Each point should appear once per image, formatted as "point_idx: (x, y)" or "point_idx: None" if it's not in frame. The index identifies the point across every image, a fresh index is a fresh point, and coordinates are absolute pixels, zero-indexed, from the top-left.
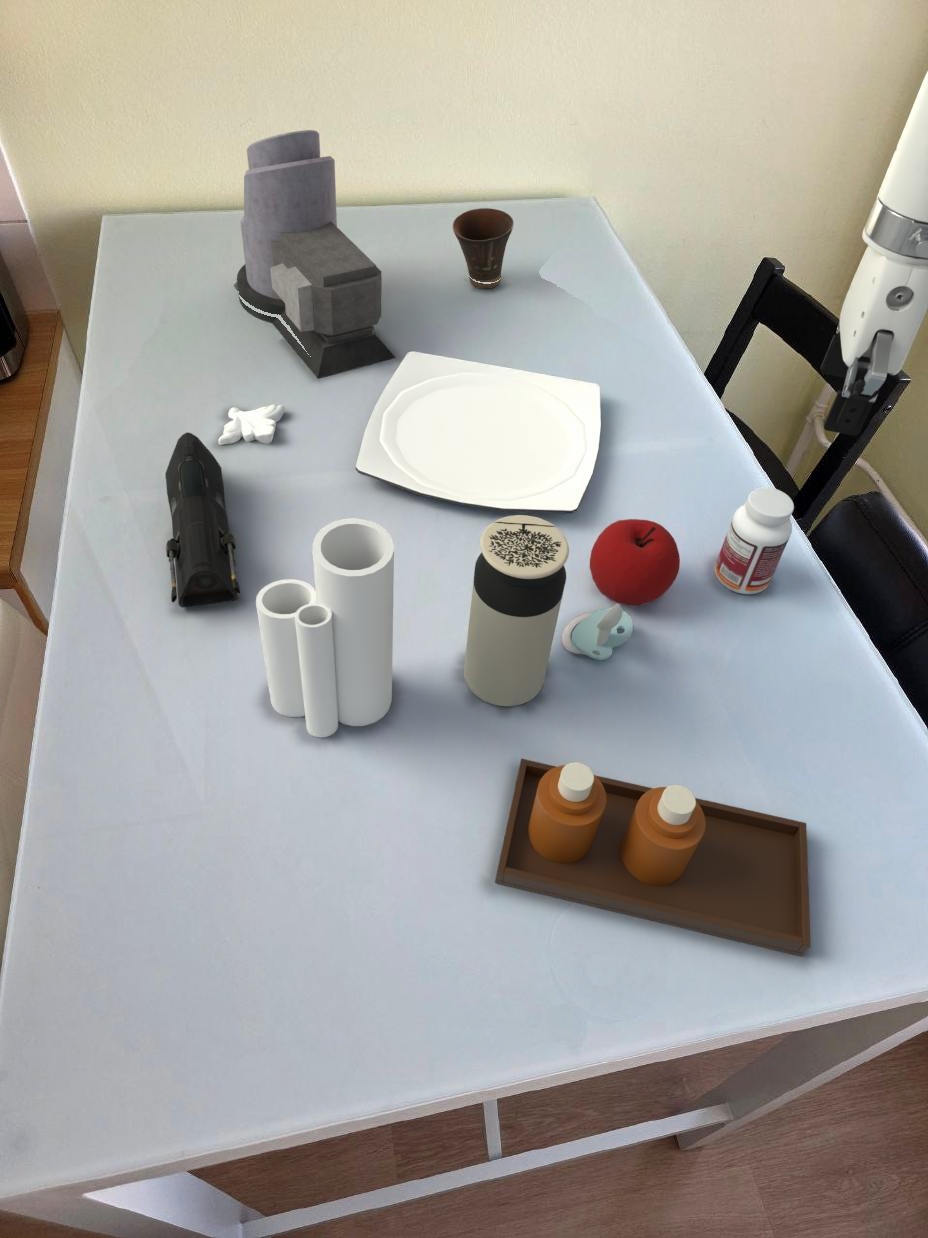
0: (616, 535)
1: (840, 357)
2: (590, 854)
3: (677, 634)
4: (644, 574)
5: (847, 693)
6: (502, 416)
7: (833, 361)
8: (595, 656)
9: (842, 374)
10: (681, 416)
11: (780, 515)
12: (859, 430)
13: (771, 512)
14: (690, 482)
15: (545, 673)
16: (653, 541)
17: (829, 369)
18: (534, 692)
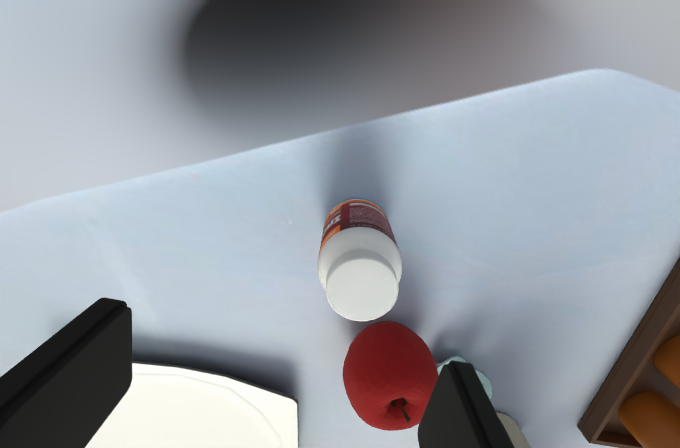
0: (395, 429)
1: (78, 415)
2: (667, 393)
3: (443, 304)
4: None
5: (539, 141)
6: (140, 436)
7: (97, 411)
8: (489, 390)
9: (125, 337)
10: (55, 252)
11: (395, 284)
12: (474, 374)
13: (389, 296)
14: (194, 260)
15: (507, 427)
16: (404, 397)
17: (120, 384)
18: (517, 426)
